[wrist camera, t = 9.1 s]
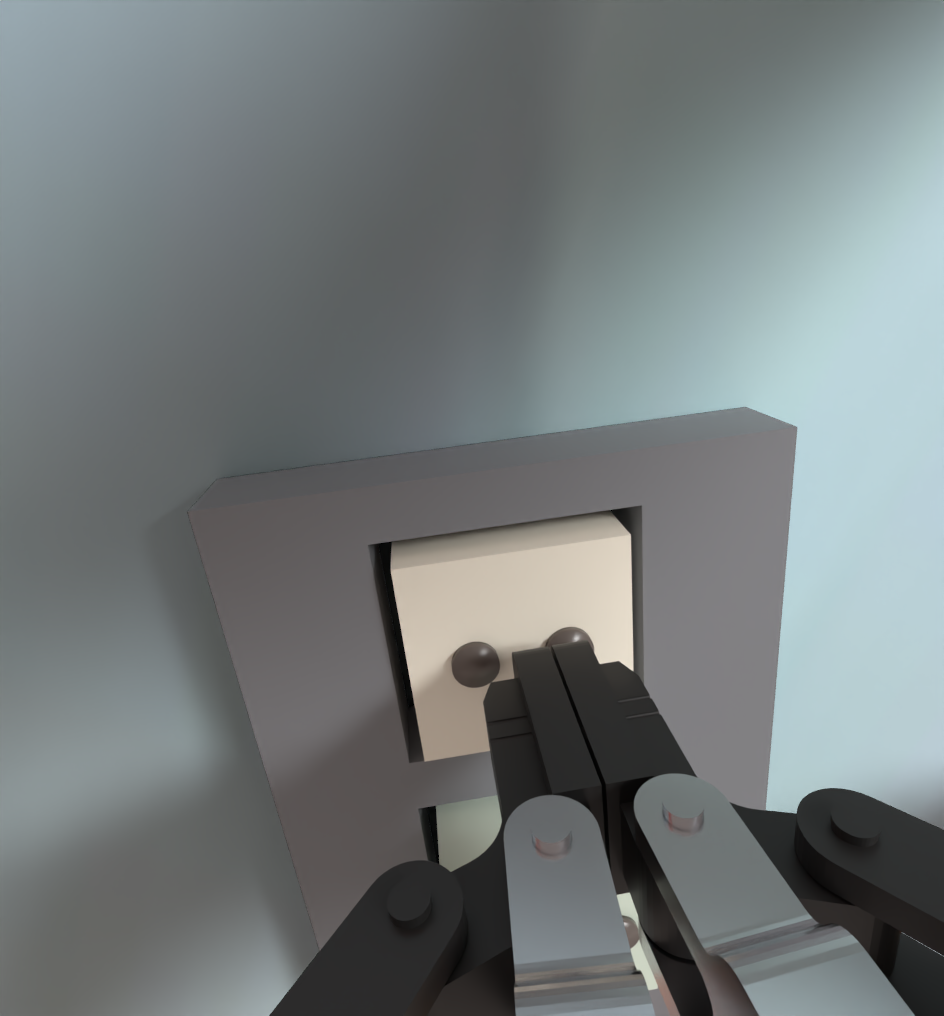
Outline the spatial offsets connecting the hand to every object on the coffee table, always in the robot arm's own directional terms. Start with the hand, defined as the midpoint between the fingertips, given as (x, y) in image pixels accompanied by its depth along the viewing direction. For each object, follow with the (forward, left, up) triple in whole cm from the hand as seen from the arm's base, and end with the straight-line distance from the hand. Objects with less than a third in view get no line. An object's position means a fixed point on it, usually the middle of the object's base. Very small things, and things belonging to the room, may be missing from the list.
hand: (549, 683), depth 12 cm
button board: (0, +7, -3) cm, 8 cm away
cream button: (0, 0, -3) cm, 3 cm away
